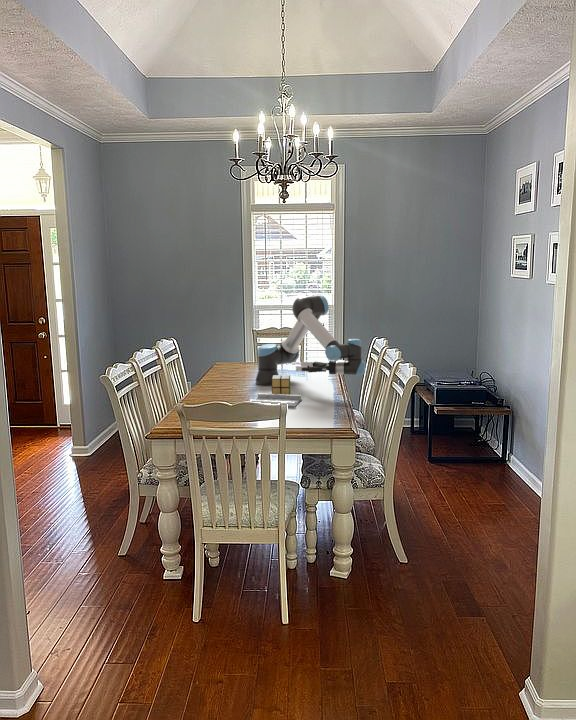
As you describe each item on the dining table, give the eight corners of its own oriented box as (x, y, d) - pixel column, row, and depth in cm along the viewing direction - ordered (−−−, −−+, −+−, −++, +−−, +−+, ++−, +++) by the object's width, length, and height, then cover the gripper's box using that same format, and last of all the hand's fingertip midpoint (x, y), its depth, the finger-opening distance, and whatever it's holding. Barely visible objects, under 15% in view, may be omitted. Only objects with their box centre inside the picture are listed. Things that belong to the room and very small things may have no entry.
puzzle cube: (272, 392, 340) (272, 375, 338) (290, 392, 340) (290, 375, 338) (271, 396, 330) (271, 378, 328) (289, 396, 330) (289, 378, 328)
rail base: (249, 405, 310) (249, 400, 309) (258, 398, 326) (258, 393, 325) (294, 407, 304) (294, 402, 304) (301, 400, 321) (301, 395, 320)
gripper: (333, 378, 313) (293, 377, 318) (340, 370, 337) (303, 369, 342) (333, 364, 312) (293, 363, 317) (339, 357, 336) (303, 356, 341)
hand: (298, 366), depth 329 cm, fingers open, 13 cm apart
